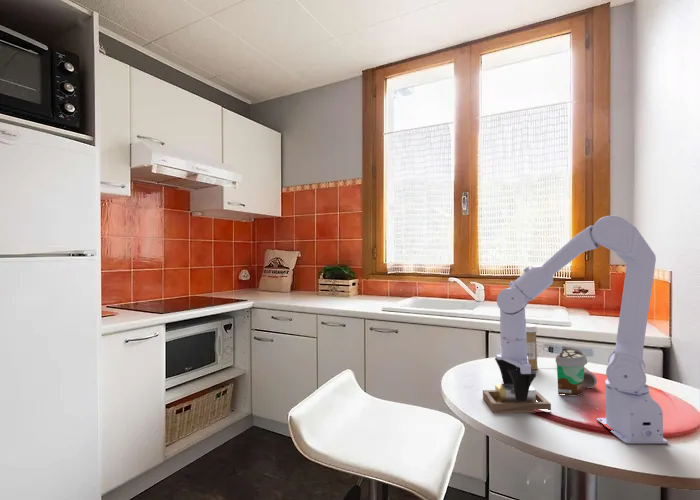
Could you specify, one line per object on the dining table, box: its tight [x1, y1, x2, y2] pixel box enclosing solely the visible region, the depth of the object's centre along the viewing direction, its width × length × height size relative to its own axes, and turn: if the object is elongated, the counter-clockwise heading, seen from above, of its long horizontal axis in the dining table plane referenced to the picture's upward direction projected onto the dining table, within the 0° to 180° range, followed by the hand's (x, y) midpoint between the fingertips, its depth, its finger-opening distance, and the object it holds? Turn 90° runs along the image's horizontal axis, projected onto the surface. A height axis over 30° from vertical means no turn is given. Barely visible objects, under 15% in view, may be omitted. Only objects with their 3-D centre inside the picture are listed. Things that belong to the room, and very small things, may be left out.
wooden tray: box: [482, 389, 552, 414], centre depth 88 cm, size 8×13×2 cm, turn 86°
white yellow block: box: [494, 383, 537, 402], centre depth 88 cm, size 4×8×4 cm, turn 86°
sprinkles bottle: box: [526, 323, 538, 371], centre depth 113 cm, size 5×5×14 cm
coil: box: [555, 353, 598, 389], centre depth 105 cm, size 5×5×18 cm
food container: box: [556, 345, 588, 396], centre depth 95 cm, size 12×6×10 cm, turn 144°
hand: (514, 393), depth 88 cm, fingers open, 7 cm apart
